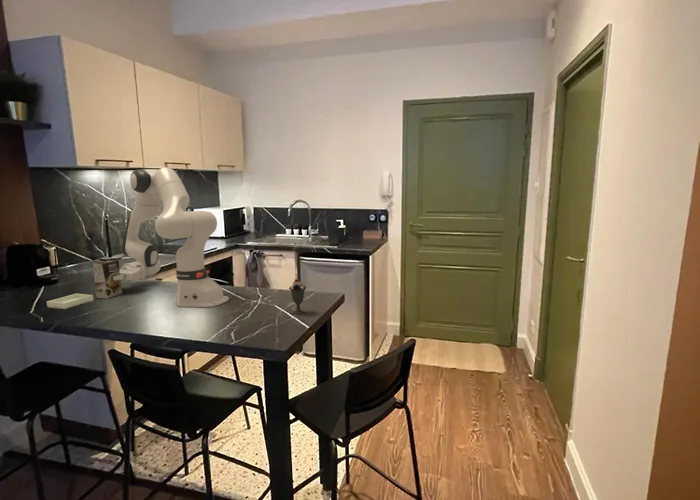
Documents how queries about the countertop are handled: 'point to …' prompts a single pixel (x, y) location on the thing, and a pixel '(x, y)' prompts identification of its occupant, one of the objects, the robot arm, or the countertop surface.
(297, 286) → the sundae
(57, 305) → the tray
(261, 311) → the countertop surface
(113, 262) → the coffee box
